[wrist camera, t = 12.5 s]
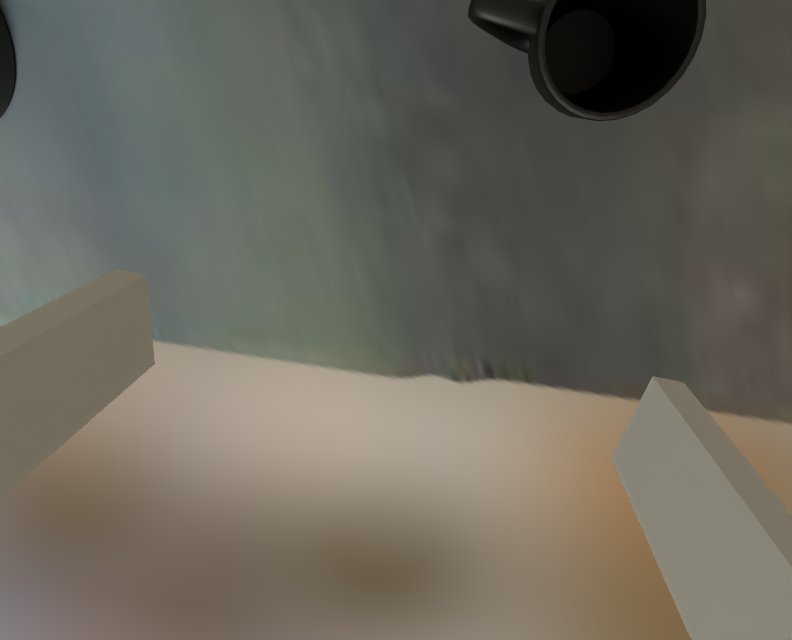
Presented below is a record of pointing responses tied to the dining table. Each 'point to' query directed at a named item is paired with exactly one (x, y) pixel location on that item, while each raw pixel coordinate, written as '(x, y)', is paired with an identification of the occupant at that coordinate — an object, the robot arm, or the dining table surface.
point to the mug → (598, 49)
